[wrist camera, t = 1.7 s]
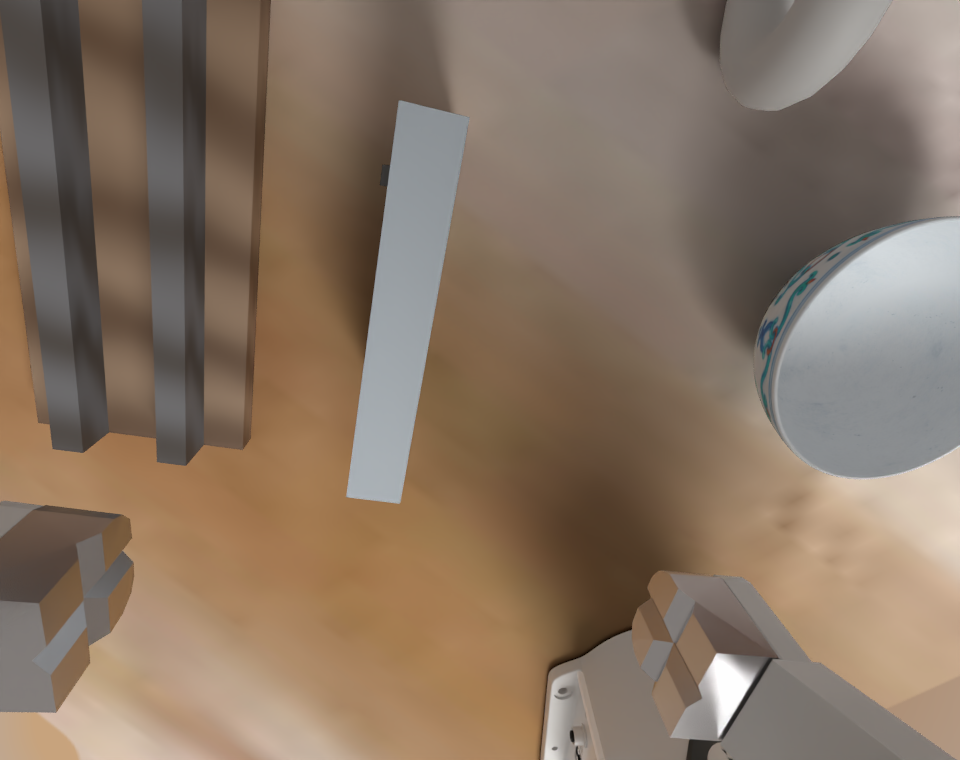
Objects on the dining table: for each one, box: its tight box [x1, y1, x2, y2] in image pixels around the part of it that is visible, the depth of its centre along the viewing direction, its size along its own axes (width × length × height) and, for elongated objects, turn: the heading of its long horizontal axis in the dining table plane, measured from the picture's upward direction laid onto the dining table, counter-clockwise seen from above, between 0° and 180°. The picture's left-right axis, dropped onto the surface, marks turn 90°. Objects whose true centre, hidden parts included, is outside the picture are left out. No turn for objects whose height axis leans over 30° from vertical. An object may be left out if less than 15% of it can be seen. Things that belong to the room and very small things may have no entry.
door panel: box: [347, 100, 470, 504], centre depth 25 cm, size 16×3×12 cm, turn 168°
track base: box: [0, 0, 271, 466], centre depth 26 cm, size 26×12×4 cm, turn 168°
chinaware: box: [754, 216, 960, 479], centre depth 31 cm, size 15×15×8 cm
